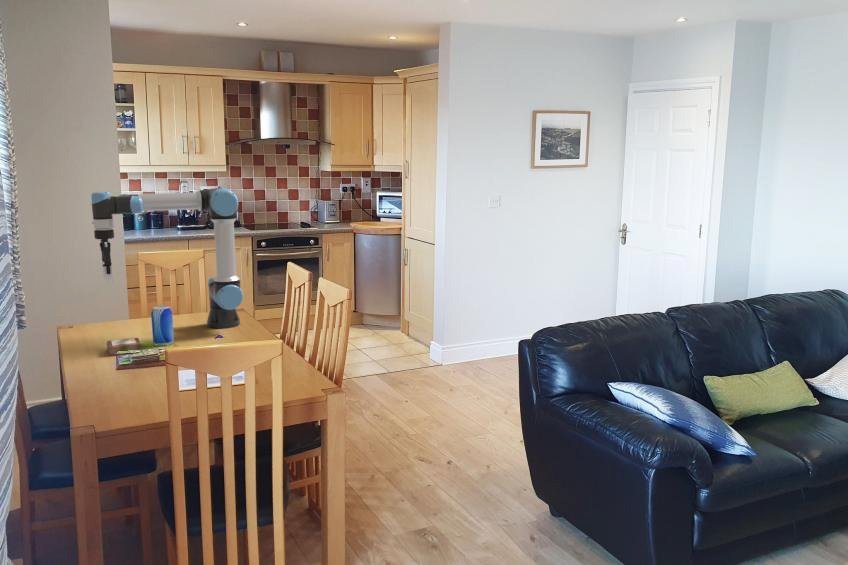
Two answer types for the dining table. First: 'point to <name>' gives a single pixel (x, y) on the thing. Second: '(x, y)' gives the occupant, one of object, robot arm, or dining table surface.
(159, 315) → the beer can
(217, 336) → the dining table surface
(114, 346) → the base slab
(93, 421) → the dining table surface
